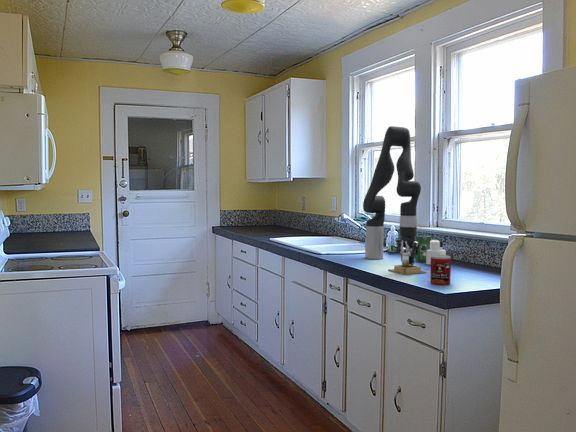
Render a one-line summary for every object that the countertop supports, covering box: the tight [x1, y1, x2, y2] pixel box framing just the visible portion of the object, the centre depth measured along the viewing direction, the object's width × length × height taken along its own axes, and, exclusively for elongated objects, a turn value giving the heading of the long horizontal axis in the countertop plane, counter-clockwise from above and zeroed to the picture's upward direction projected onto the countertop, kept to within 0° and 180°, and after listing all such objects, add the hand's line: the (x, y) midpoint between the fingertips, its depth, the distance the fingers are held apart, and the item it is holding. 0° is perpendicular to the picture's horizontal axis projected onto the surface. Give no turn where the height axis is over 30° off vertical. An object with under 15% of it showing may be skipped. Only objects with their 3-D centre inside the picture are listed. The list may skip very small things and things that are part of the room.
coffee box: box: [414, 235, 432, 263], centre depth 269 cm, size 8×3×13 cm, turn 117°
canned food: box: [429, 255, 452, 286], centre depth 210 cm, size 8×8×11 cm
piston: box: [401, 251, 414, 266], centre depth 237 cm, size 5×5×5 cm
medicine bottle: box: [425, 239, 447, 266], centre depth 260 cm, size 7×7×12 cm
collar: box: [388, 264, 428, 276], centre depth 237 cm, size 12×12×3 cm
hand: (407, 263), depth 237 cm, fingers closed on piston, 5 cm apart
